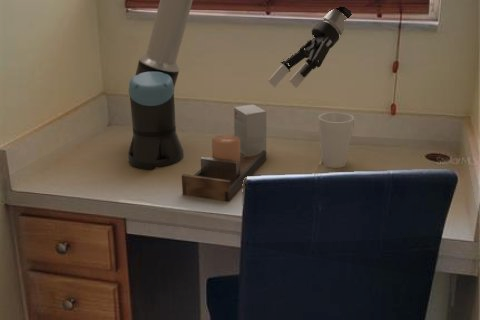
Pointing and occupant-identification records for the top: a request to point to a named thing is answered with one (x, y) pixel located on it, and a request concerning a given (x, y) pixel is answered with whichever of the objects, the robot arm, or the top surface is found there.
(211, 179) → the pusher lane
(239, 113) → the small box
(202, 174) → the pusher plate
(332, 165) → the foam cup
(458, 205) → the top surface
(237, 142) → the terracotta jar
